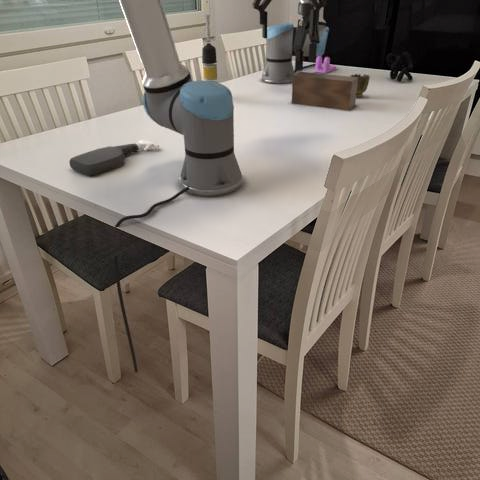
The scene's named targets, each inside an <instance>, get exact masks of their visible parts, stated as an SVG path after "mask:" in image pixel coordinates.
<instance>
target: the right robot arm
mask: <svg viewBox="0 0 480 480" xmlns="http://www.w3.org/2000/svg"><path fill="white" fill-rule="evenodd" d="M298 1H299V2H298V4H297V14H298V15H300V16H301V19H300V18H299V19H297V26H295V25H294V23H292V22H286V23H285V22H284V23H280V24H279V23H278V24H274V25H271V26H269V27H267V38H265V64H264V67H263V71H262V74H261V81H262V82H263V83H266V84H272V85H273V84H274V85H275V84H276V85H278V84H279V85H283V84H290V83H293V75H295V74H296V73H298V72H300V71H303V70H304V69H308V68H311V67H316V58H317V57H318V56H321V57H323V55H324V54H325V50H326V46H327V40H328V35H329V31H330V28H329V27H328V26H327V22H326V20H325V19H324V8H325V7H322V8H321V9H320V11H319V21H318V22H316V23H315V36H310V35H309V27H310V11H311V9H314V8H313V6H312V5H311V3H310V2H309V0H298ZM317 2H318V3H319V1H318V0H317ZM293 57H294V59H295V61H294V66H293ZM304 57H308V63H311V64H308V65H304ZM322 64H324V60H322Z"/></svg>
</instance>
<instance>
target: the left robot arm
mask: <svg viewBox="0 0 480 480" xmlns="http://www.w3.org/2000/svg"><path fill="white" fill-rule="evenodd" d="M118 1H119V4H120V7H121V10H122V13H123V15H124V18H125V20H126V24H127V26H128V29H129V32H130V34H131V38H132V40H133V43H134V45H135V48H136V52H137V54H138V57H139V60H140V62H141V66H142V68H143V71H144V73H145V74H144V77H143V79H142V83H141V84H142V86H143V89H144V90H143V94H142V105H143V108H144V111H145V113H146V115H147V116H148V117H149V118H150V119H151V120H152V122H154V123H155V124H157V125H158V126H160V127H163V128H165V129H168V130H170V131H173V132H175V133H177V134H180V135H182V136H183V141H184V142H183V143H184V154H185V155H184V158H183V164H182V168H181V171H180V177H179V183H180V184H179V185H180V188H181V189H180V191H178V192H177V193H175V194H174V195H173V196H171V197H170V198H167V199H165V200H162V201H158V202H156V203H154V204H153V205H152V204H151V206H150V207H149V209H148V210H147V211H145V212H143V213H141V214H133V215H131V214H130V215H127V216H126V215H125V216H124V217H122V218H119V220H118V221H117V223H116V224H115V226H114V228H119V227H120V226H121V225H122V223H124V222H125V221H128V220H135V219H136V220H137V219H141V218H145V217H148V216H149V215H150V214H151V213H152V212H153V210H154V209H156V208H157V207H159V206H162V205H165V204H169V203H170V202H172V201H174V200H175V199H177V198H178V197H181V195H182V194H184V193H185V192H186V193H187V194H190V195H194V196H199V197H221V196H224V195H229V194H232V193H234V192H235V191H237V190H239V189H240V188H241V187H242V185H243V174H242V171H241V168H240V165H239V163H238V160H237V157H236V154H235V129H234V128H235V126H234V123H235V121H234V118H235V117H234V114H235V113H234V112H235V111H234V110H235V105H234V101H233V94H232V91H231V90H230V89H229V87H227V86H226V85H224V84H222V83H220V82H218V81H215V82H208V80H193V78H192V76H191V71H190V69H189V67H188V66H186V65H184V64H183V63H181V61H180V58H179V54H178V51H177V48H176V44H175V41H174V38H173V34H172V32H171V29H170V24H169V21H168V17H167V14H166V12H165V9H164V5H163V1H162V0H118ZM318 1H319V3H318V2H317V0H309V2H310V3H311V5H312V6H313V8H314V9H311V11H310V27H309V35H310V36H315V23H316V22H318V21H319V11H320V9H321V8H322V7H324V8H325V7H327V5H328V2H327V0H318ZM271 2H273V0H253V2H252V5H251V7H252V9H254V10H256V11H258V24H259V25H261V27H262V28H261V29H262V30H261V35H262V36H261V37H262V38H263V39H266V38H267V29H268V11H266V10H267V8H268V6H269V5H270V3H271ZM217 82H218V83H217ZM113 261H114V273H115V281H116V288H117V294H118V299H119V305H120V310H121V314H122V319H123V323H124V327H125V332H126V336H127V340H128V345H129V349H130V354H131V359H132V364H133V370H134V373H138V371H139V369H138V364H137V359H136V354H135V350H134V345H133V340H132V336H131V331H130V326H129V323H128V317H127V313H126V308H125V304H124V298H123V293H122V287H121V279H120V269H119V257H118V256H117V255H114V257H113Z"/></svg>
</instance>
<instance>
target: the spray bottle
mask: <svg viewBox="0 0 480 480" xmlns="http://www.w3.org/2000/svg"><path fill="white" fill-rule="evenodd" d="M159 148H160V145H159V144H158V143H155V142H151V141H148V140H144V139H139V140H138V141H137V142H135V143H129V144H128V143H126V144H122V145H113V146H105V147H100V148H97V149H94V150H90V151H87V152H83V153H81V154H78V155H74V156H73V157H70V159H69V161H68V162H69V167H70V168H71V169H72V170H74V171H75V172H78V173H81V174H83V175H85V176H89V177H90V176H91V177H92V176H95V175H99V174H102V173H105V172H107V171H110V170H113V169H116V168H118V167H120V166H122V165H123V164H124V163H125V158H126V156H127V155H131V154H133V153H138V151H140V150H143V151H144V152H146V151H147V150H149V149H159Z"/></svg>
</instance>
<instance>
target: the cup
mask: <svg viewBox="0 0 480 480" xmlns="http://www.w3.org/2000/svg"><path fill="white" fill-rule="evenodd" d="M350 77H358V85H357V93H356V98H362V97H363V96H364V95H363V93H365V92H366V91H367V90H368V86H369V83H370V79H371V76H370V75H369V74H366V73H365V74H363V75H361V74H360V73H359V74H357V73H355V74H350Z"/></svg>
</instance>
